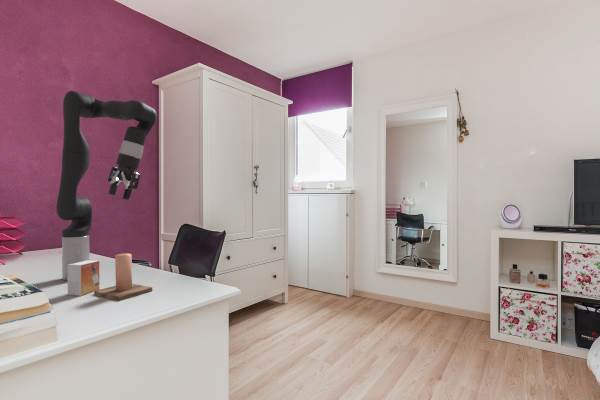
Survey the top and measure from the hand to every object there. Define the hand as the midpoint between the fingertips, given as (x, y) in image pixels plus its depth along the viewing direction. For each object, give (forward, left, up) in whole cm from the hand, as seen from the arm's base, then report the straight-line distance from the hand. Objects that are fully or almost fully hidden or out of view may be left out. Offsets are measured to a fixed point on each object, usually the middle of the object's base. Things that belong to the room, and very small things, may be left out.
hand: (118, 196), depth 120 cm
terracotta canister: (+9, -4, -32) cm, 34 cm away
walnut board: (+9, -5, -33) cm, 35 cm away
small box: (-4, -11, -34) cm, 35 cm away
